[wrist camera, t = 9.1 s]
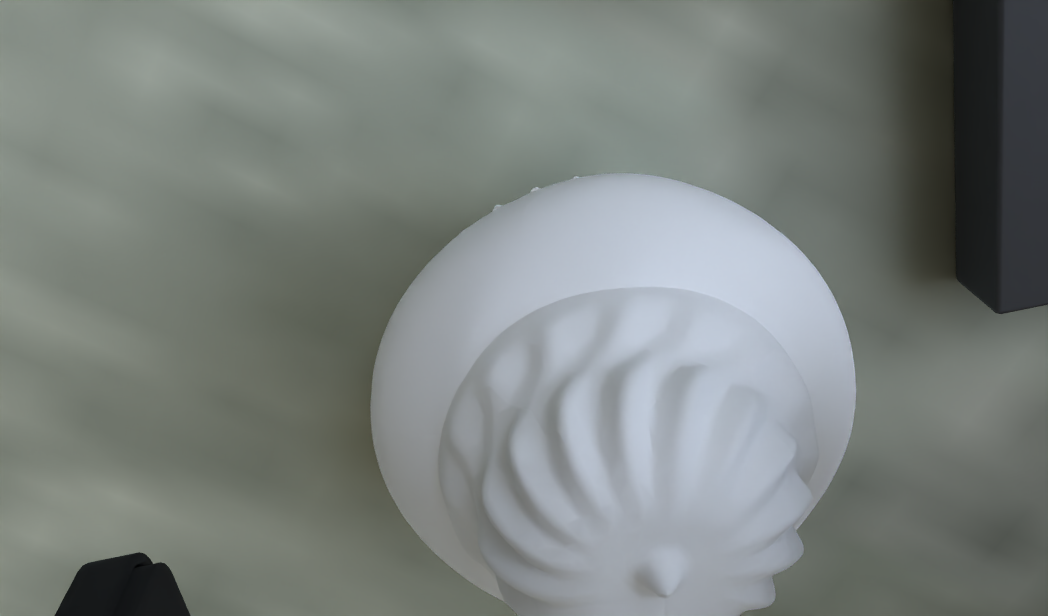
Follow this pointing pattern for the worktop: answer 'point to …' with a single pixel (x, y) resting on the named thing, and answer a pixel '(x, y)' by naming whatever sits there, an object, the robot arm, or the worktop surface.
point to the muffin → (615, 401)
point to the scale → (1002, 151)
